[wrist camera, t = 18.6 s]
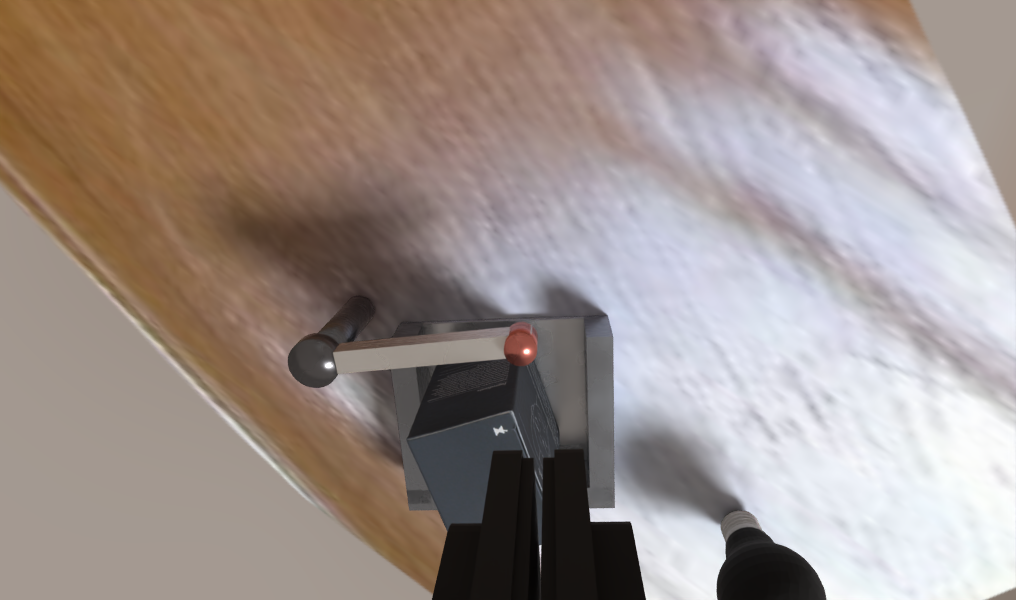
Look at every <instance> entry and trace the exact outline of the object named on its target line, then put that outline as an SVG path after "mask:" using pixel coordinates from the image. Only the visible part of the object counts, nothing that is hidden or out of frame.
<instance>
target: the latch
mask: <svg viewBox="0 0 1016 600" xmlns="http://www.w3.org/2000/svg"><path fill="white" fill-rule="evenodd" d="M537 342H538V335H537V331H536V329H535V328H534V327H533V326H532V325H530V324H529V323H526V322H518V323H515V324H513V325H511V326H510V327H502V328H492V329H482V330H471V331H461V332H450V333H440V334H430V335H419V336H409V337H398V338H388V339H378V340H367V341H357V342H346V343H340V344H338V342H337V341H336V340H334V339H333V338H331V337H330V336H328V335H325V334H319V333H314V334H310V335H307V336H305V337H303V338H302V339H301V340H300V341H299V342H298V343H297V344H296V345H295V346H294V347H293V348H292V350H291V351H290V353H289V356H288V367H289V370H290V372H291V374H292V375H293V377H294V378H295V379H296V380H297V381H299V382H300V383H301V384H303V385H305V386H308V387H313V388H320V387H324V386H327V385H329V384H330V383H331V382H333V380H334V379H335V378H336V377H337V375H338V374H344V373H355V372H366V371H377V370H388V369H399V368H410V367H421V366H432V365H443V364H453V363H464V362H475V361H486V360H497V359H507V360H508V361H509V362H510V363H511V364H513V365H516V366H525V365H528V364H530V363H531V362H532V361H533V360H534V359H535V357H536V355H537Z"/></svg>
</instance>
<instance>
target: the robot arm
mask: <svg viewBox="0 0 1016 600" xmlns="http://www.w3.org/2000/svg"><path fill="white" fill-rule="evenodd" d="M432 600H646V598H645V592H644V587H643V582H642V577H641V571H640V566H639V561H638V555H637V550H636V545H635V540H634V534H633V529H632V525H631V523H630V522H590V512H589V502H588V491H587V481H586V470H585V460H584V450H583V449H554V457H543V487H542V546H541V573H540V555H539V537H538V519H537V500H536V482H535V464H534V458H523V451H522V450H494V451H493V454H492V460H491V466H490V473H489V479H488V486H487V492H486V499H485V505H484V512H483V518H482V523H451V525H450V526H449V529H448V532H447V536H446V541H445V545H444V550H443V554H442V558H441V563H440V567H439V571H438V576H437V580H436V584H435V589H434V593H433V598H432Z"/></svg>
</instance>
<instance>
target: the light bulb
mask: <svg viewBox="0 0 1016 600" xmlns="http://www.w3.org/2000/svg"><path fill="white" fill-rule="evenodd" d="M721 531H722V534H723V537H724V539H725V542H726V560H725V562H724V563H723V565H722V567H721V569H720V572H719V575H718V579H717V599H718V600H826V594H825V590H824V587H823V585H822V583H821V581H820V579H819V577H818V575H817V573H816V572H815V570H814V569H813V568H812V567H811V565H810V564H809V563H808V562H807V561H806V560H805V559H804V558H803V557H801V556H800V555H799V554H797V553H796V552H794V551H793V550H791V549H789V548H787V547H785V546H782V545H779V544H775V543H774V542H773V540H772V539H771V538H770V537H769V536H768V535H767V534H766V533H765V532H764V531H762V529H761V527H760V525H759V523H758V520H757V518H756V517H755V516H754V515H752V514H751V513H749V512H747V511H740V510H739V511H734V512H731V513H729V514H728V515H726V516H725V517H724V519H723V520H722V522H721Z"/></svg>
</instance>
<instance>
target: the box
mask: <svg viewBox="0 0 1016 600" xmlns="http://www.w3.org/2000/svg"><path fill="white" fill-rule="evenodd" d="M559 437H560V433H559V428H558V425H557V422H556V419H555V416H554V414H553V411H552V408H551V405H550V402H549V399H548V397H547V394H546V391H545V388H544V386H543V383H542V380H541V377H540V374H539V372H538V369H537V366H536V364H535V361H534V360H533V361H532V362H531V363H530V364H528V365H525V366H516V365H513V364H511V363H510V362H509V361H508V360H507V359H497V360H486V361H475V362H464V363H453V364H443V365H436V368H435V370H434V373H433V375H432V377H431V380H430V382H429V385H428V387H427V390H426V392H425V395H424V397H423V400H422V402H421V405H420V407H419V409H418V412H417V414H416V417H415V420H414V422H413V425H412V427H411V429H410V433H409V435H408V437H407V439H406V440H407V444H408V446H409V448H410V450H411V452H412V454H413V457H414V459H415V461H416V463H417V465H418V467H419V470H420V472H421V474H422V476H423V478H424V481H425V483H426V485H427V487H428V490H429V492H430V494H431V496H432V498H433V501H434V503H435V505H436V507H437V509H438V512H439V514H440V516H441V518H442V521H443V523H444V525H445V527H446V529H447V532H448V529H449V526H450V525H451V523H482V518H483V512H484V505H485V499H486V492H487V486H488V479H489V473H490V466H491V460H492V454H493V451H494V450H522V451H523V458H534V464H535V482H536V500H537V519H538V537H539V545H542V487H543V457H554V449H560V438H559Z"/></svg>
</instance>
